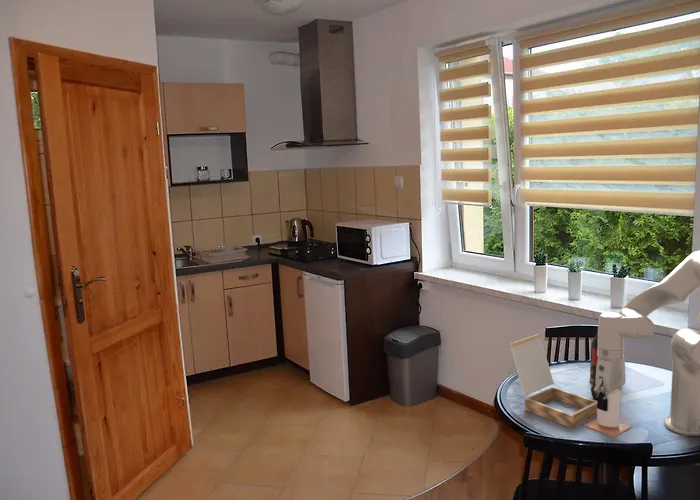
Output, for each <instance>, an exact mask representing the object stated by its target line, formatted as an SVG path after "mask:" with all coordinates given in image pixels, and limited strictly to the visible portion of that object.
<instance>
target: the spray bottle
mask: <svg viewBox="0 0 700 500" xmlns="http://www.w3.org/2000/svg"><path fill="white" fill-rule="evenodd" d="M602 388H604V386H603V387H602ZM604 389H605V388H604ZM601 392H602V393H603V394H604V392H605V391H604V390H601ZM606 399H608V410H607V411H603V410H600V409H598V408H597V415H596V419H597V422H598V423H599V424H600V425H602V426H605V427H617V426H619V425H620V423H621V412H622V411H621V410H622V409H621V408H622V407H621V406H622V391H621V390H620V389H619V388H617V389H615V390H613V391H611V392H609V391H608V395H607V398H606Z"/></svg>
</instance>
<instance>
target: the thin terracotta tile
mask: <svg viewBox="0 0 700 500" xmlns="http://www.w3.org/2000/svg"><path fill="white" fill-rule="evenodd" d="M583 426H584V427H585V428H588V429H591V430H594V431H596V432H599V433H601V434H603V435H606V436H608V437H612V438H616V437H617V436H619V435H621V434H622V433H625V432H626V431H627V430H629V429H631V428H632V426H631V425H629V424H625V423H622V422H620V425H619V426H617V427H605V426H602V425H600V424H599V423H598V422H597V418H595V419H593V420H591V421H590V422H588V423H586V424H584V425H583Z"/></svg>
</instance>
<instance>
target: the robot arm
mask: <svg viewBox="0 0 700 500" xmlns="http://www.w3.org/2000/svg"><path fill="white" fill-rule="evenodd" d="M698 289H700V250H697V251H694V252H691V254H689V255H688V256H687V257H686V258H685V259H684V260H683V261H682V262H680V263H679V265H677V266H676V267H675V268H674V269H673V270H672V271H671V272H670V273H669V274H668V275H667V276H665V277H664V278H663V279H662V280H661V281H660V282H658V283H657V284H655V285H652V286H650V287H648V288H647V289H645V290H644V291H641V292H639V293H638V294H637V295H635V296H634V297H633V298H631V299H630V300H629V302H627V303H626V304H625V305H624V307H622V308H621V309H620V311H618V312H619V313H618V312H612V311H611V312H610V311H609V312H608V311H607V312H602V313H601V314H600V315H599V316H598V320H597V321H598V324H597V333H598V353H597V356H598V361H597V368H596V386H595V387H594V392H595V393H596V396H597V408H598V409H600V410H603V411H607V410H608V399H606V398H607V395H608V391H609V392H611V391H613V390H615V389H617V388H619V389H620V390H621V392H622V391H623V389H622V387H623V386H625V384H626V361H625V355H624V353H625V352H624V351H625V339H628V340H629V339H631V340H636V341H637V340H638V341H640V340H641V341H643V340H648V339H649V338H652V336H653V335H654V333H655V331H656V327H655V324H654V322H653V321H652V319H650V318H649V317H648V316H649V315H650V314H651V313H653V312H654V311H656V310H658V309H660V308H663V307H665V306H672V305H678V304H682V303H684V302H686V301H687V300H688V299H689V298H690V297H691V296H692V295H693V294H694V293H695V292H696V291H697V290H698ZM697 322H698V325H700V312H699V313H698V315H697ZM670 354H671V359H672V360H671V361H672V364H671V365H672V374H671V389H670V405H669V406H670V409H669V410H670V411H669V415H668V416H666V417H665V418H664V419H663V424H664V426H665V427H666V428H667V429H669V430H670V431H672V432H673V433H674V432H675V433H677V434H681V435H686V436H694V437H695V436H696V437H699V436H700V331H699V330H696V329H694V328H689V327H688V328H687V327H686V328H681V329H679V330H678V331H676V332H675V333H674V334H673V336H672V338H671V342H670ZM603 386H604V388H605V389H604V388H602V387H603ZM601 390H604V391H605V392H604V394H603V393H602V392H601Z"/></svg>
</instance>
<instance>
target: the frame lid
mask: <svg viewBox="0 0 700 500" xmlns="http://www.w3.org/2000/svg"><path fill="white" fill-rule="evenodd" d="M509 348H510V351H511V355H512V358H513V361H514V364H515V369H516V371H517V372H516V373H517V376H518V379H519V383H520V388H521V390H522V394H523V396H524V397H528V396H529V395H533V394H534V393H536V392H540V391H541V390H542V389H545V388H547V387H550V386H552V385H554V384H555V382H554V379H553V375H552V372H551V368H550V365H549V362H548V361H549V360H548V359H547V358H548V357H547V355H546V351H545V348H544V343H543V340H542V335H541V333H537V334H534V335H532V336H528V337H526V338H522V339H519V340H517V341H514V342H511V343H509Z"/></svg>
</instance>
